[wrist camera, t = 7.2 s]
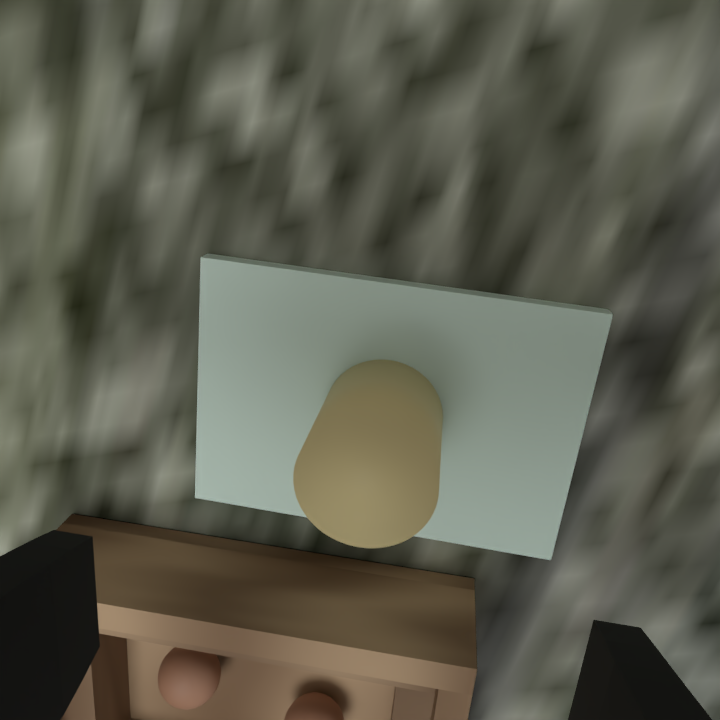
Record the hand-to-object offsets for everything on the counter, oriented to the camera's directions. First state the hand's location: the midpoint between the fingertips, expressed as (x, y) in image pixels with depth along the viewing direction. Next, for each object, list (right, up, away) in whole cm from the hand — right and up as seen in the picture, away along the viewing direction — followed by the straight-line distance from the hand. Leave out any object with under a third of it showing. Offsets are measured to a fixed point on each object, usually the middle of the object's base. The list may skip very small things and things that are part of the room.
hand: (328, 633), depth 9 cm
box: (-3, -6, +11) cm, 13 cm away
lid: (+1, +3, +8) cm, 9 cm away
